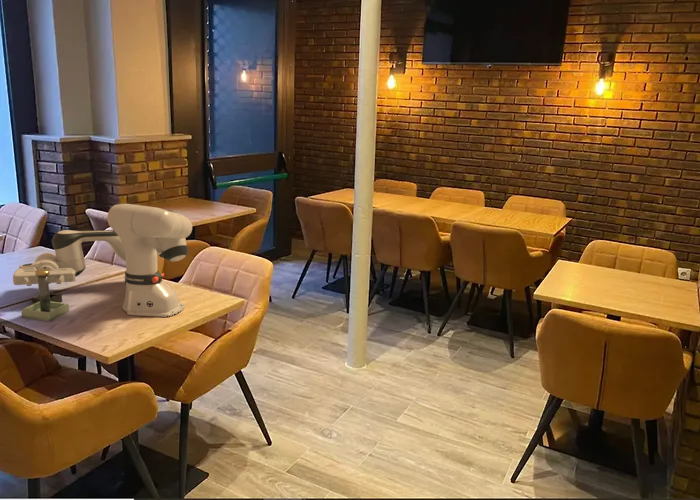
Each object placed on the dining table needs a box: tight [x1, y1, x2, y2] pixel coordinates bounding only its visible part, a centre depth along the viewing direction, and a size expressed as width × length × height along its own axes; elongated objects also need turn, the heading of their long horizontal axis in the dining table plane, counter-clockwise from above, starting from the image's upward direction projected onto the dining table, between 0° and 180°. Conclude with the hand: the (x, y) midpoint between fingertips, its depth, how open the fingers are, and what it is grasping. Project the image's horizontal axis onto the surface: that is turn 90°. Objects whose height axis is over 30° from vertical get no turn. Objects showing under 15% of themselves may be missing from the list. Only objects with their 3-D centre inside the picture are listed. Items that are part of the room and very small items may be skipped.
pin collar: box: [31, 292, 63, 305], centre depth 213 cm, size 7×7×3 cm
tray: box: [21, 301, 70, 322], centre depth 203 cm, size 11×11×3 cm
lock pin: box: [35, 269, 51, 312], centre depth 201 cm, size 4×4×15 cm
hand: (44, 282), depth 205 cm, fingers open, 8 cm apart
